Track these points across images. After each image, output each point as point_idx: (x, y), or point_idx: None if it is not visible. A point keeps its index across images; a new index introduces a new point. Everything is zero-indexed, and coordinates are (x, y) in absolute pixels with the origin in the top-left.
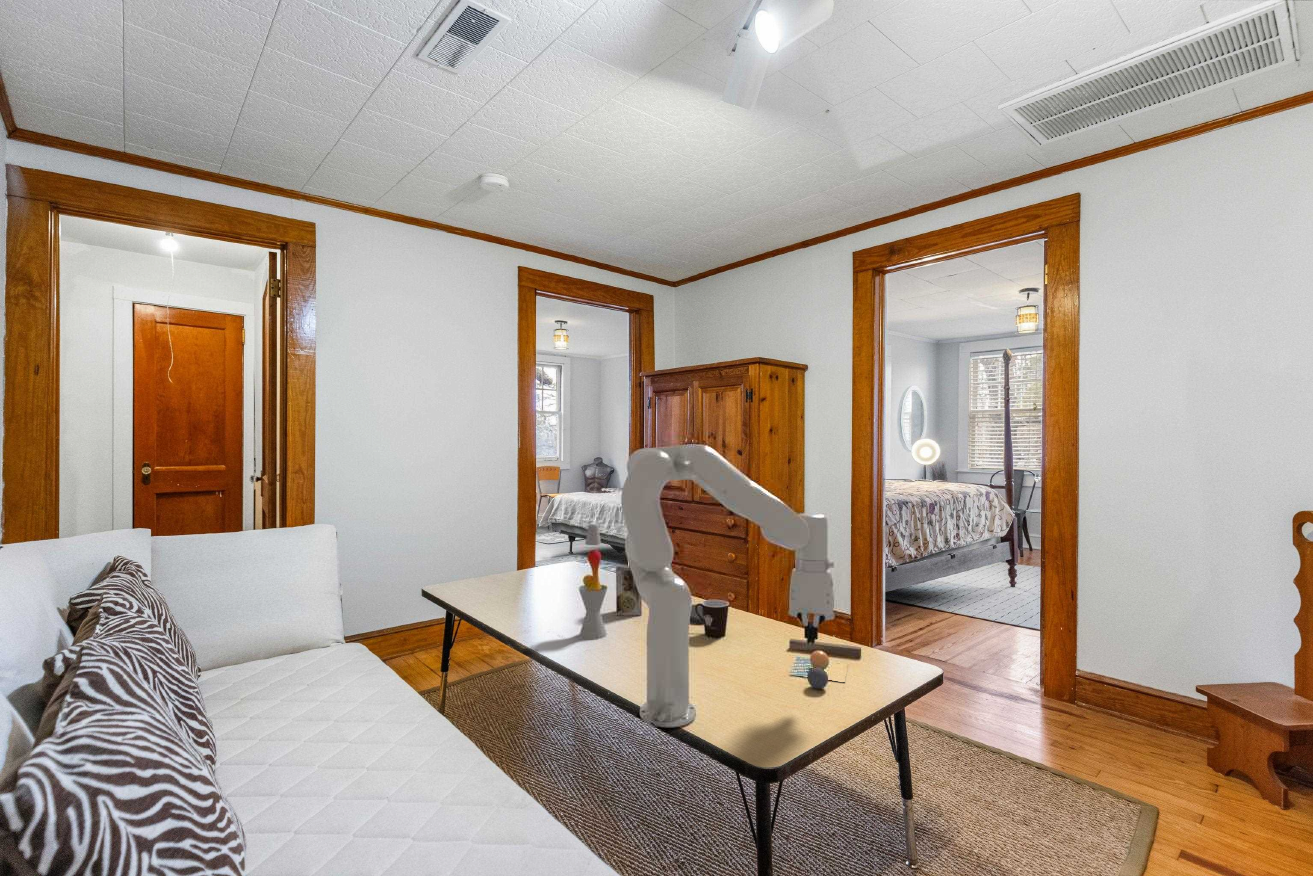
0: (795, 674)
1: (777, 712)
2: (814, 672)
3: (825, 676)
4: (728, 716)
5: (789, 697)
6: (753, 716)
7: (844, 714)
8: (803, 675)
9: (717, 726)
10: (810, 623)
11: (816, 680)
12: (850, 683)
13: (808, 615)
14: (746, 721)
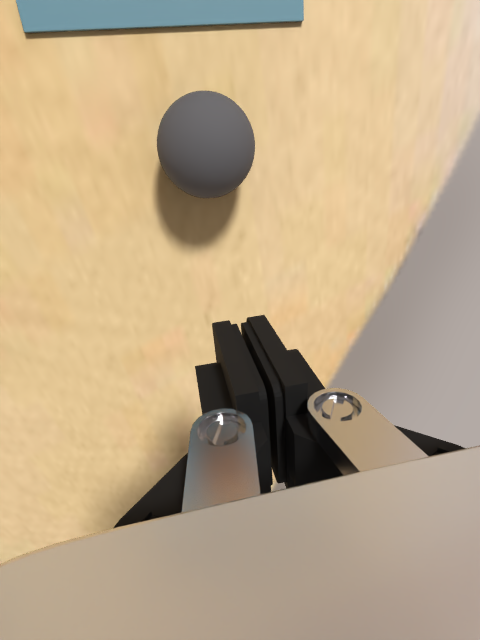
0: (52, 10)
1: (134, 407)
2: (201, 182)
3: (249, 166)
4: (18, 493)
5: (127, 289)
6: (82, 459)
7: (318, 323)
8: (96, 8)
9: (27, 543)
10: (258, 404)
11: (212, 197)
12: (325, 10)
13: (259, 488)
14: (80, 489)
